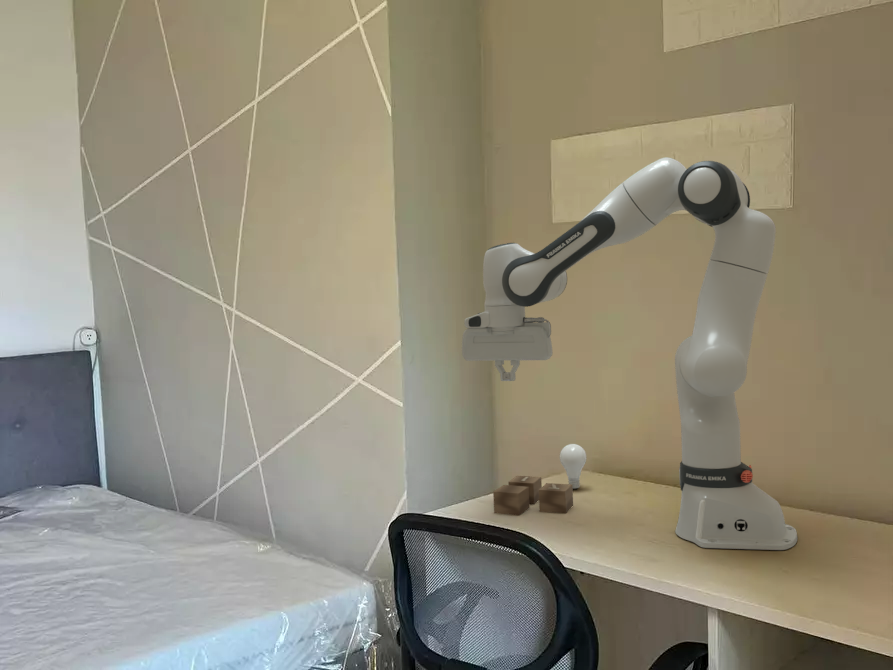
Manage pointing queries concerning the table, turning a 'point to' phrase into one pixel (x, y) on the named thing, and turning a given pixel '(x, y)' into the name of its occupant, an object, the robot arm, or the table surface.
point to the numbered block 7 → (555, 498)
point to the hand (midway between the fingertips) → (508, 380)
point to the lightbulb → (573, 462)
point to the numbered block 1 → (530, 482)
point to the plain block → (511, 500)
